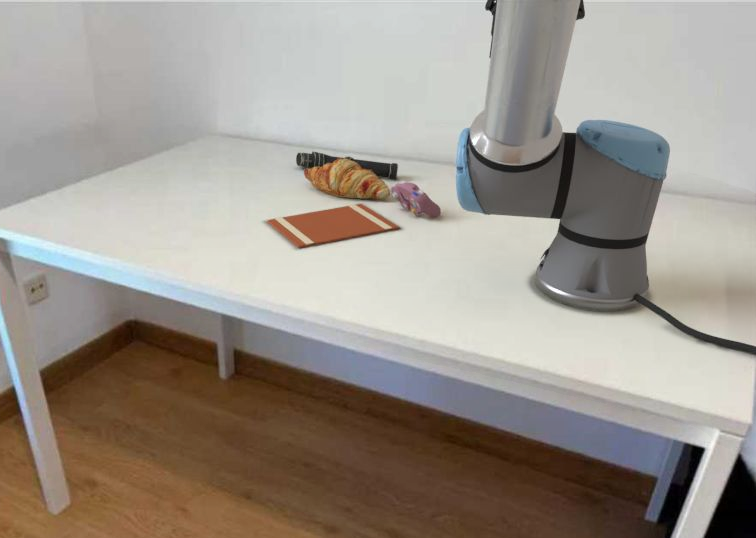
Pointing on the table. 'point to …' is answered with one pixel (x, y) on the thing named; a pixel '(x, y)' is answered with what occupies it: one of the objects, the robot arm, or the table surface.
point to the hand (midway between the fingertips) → (523, 63)
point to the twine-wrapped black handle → (321, 159)
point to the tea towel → (331, 225)
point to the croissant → (347, 180)
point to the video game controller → (415, 199)
